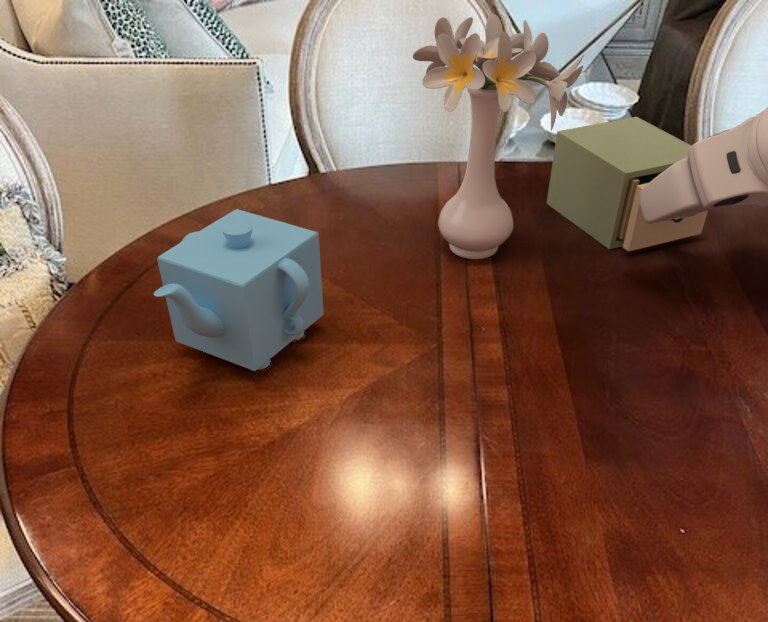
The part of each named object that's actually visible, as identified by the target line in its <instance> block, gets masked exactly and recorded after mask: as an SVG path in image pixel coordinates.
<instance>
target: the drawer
mask: <svg viewBox="0 0 768 622" xmlns="http://www.w3.org/2000/svg"><path fill="white" fill-rule="evenodd" d="M661 173H662V172H659V173H654V174H649V175H644V176H640V177H635V178H630V180H629V184H628V189H627V193H626V198H625V202H624V207H623V211H622V216H621V220H620V225H619V229H618V234H617V237H618V238H620V239H624V244H623V246H622V248H623V250H626V251H628V252H632V251H635V250H636V251H637V250H640V249H644V248H649V247H652V246H657V245H661V244H665V243H668V242H673V241H677V240H682V239H685V238H689V237H690V238H691V237H693V236H698V235H701V234H702V233H703V229H704V226H705V223H706V220H707V216H708V214H709V213H708V212H709V210H708V211H704V212H701V213H699V214H697V215H695V216H690V217H686V218H682V219H677V220H675V219H669V220H665V221H661V222H656V223H653V224H648V223H646V221H645V219H644V217H643V214H642V211H641V207H640V202H639V193H640V191H641V190H642V189H643V188H644V187H645V186H646V185H647V184H648V183H646V184H641V185H639V181H640V179H642V178H645V177H648V176H652V177H657V176H658V175H659V174H661Z"/></svg>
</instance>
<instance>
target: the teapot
mask: <svg viewBox="0 0 768 622" xmlns="http://www.w3.org/2000/svg"><path fill="white" fill-rule="evenodd" d="M319 235H320V234H319V232H318V231H315V230H311V229H307V228H305V227H301V226H297V225H294V224H290V223H288V222H285V221H280V220H277V219H273V218H269V217H266V216H263V215H259V214H256V213H251V212H248V211H246V210H242V209H238V208H236V209H234V210H233V211H230V212H229V213H227V214H225V215H224V216H222V217H221V218H219V219H217V220H216V221H214V222H212V223H210V224H209V225H207V226H206V227H204V228H202V229H201V230H199V231H193V232H189V233H188V234H186V235H185V236H184V237H183V239H182V240H181V241H180V242H179V243H178V244H176V245H175V246H173V247H171V248H170V249H168V250H166V251H165V252H163V253H162V254H160V255H158V257H157V258H156V260H157V264H158V270H159V275H160V278H161V282H162V286H160V287H159V288H158V289H156V290H155V291H154V292H153V296H154V297H156V298H157V297H158V298H165V301H166V305H167V310H168V314H169V319H170V323H171V328H172V332H173V336H174V340H175V342H176V343H179V344H182V345H185V346H187V347H190V348H193V349H194V350H198V351H201V352H202V351H203V352H202V353H205V352H206V353H205V354H209V355H210V356H214V357H216V358H218V359H221V360H224V361H226V362H230V363H233V364H234V365H237V366H239V367H243V368H246V369H248V370H250V369H251V370H250V371H253V372H257V371H256V370H257V369H260V368H261V369H263V368H265V367H267V366H268V365H269V364H270V362H271V363H272V361H271V359H272V358H273V357H275V355H277V354H278V353H279V352H280V351H282V350H283V349H285V347H287V346H288V345H289V344H290V343H291V342H293V341H292V340H294V339H300V338H301V337H303V335H304V332H305V331H306V330H307V329H308V328H310V326H312V325H313V324H314V323H315V322H317V321H318V320H319V319H321V317H322V316H324V314H325V312H324V298H323V283H322V282H323V281H322V265H321V251H320V250H321V249H320V236H319Z"/></svg>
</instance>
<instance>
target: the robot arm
mask: <svg viewBox="0 0 768 622" xmlns="http://www.w3.org/2000/svg"><path fill="white" fill-rule="evenodd" d="M688 154H689V156H687V157H685V158H683V159H681V160H679V161H678V162H676V163H675V164H673V165H671V166H670V167H669V168H667V169H666V170H665V171H663V172H662V173H661V174H659V175H658V176H657V177H656V178H654V179H653V180H652V181H651V182H650V183H648V184H647V185H646V186H645V187H644V188H643V189H642V190H641V191H640V193H639V202H640V207H641V211H642V214H643V217H644V219H645V221H646V223H648V224H653V223H656V222H661V221H665V220H669V219H675V220H677V219H682V218H686V217H690V216H695V215H697V214H699V213H701V212H704V211H708V212H709V211H713V210H717V209H720V208H724V207H729V206H733V205H739V206H740V205H741V206H749V205H750V206H752V205H753V206H757V207H768V107H766V108H765V109H763V110H762V111H760V112H759V113H758V114H756V115H755V116H750V117H749V118H747V119H746V120H744V121H743V122H741V123H740V124H738V125H736V126H734V127H731V128H729V129H726V130H723V131H721V132H718V133H715V134H713V135H710V136H707V137H706V138H701V139H700V140H698V141H696V142H695V143H694V144H691V147H690V148H689V149H688Z"/></svg>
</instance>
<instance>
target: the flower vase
mask: <svg viewBox="0 0 768 622" xmlns="http://www.w3.org/2000/svg"><path fill="white" fill-rule="evenodd" d="M473 23H474V18H473V17H472V16H469V17H466V18H465V19H464V20H463V21H462V22H461V23H460V24H459V25H458V26H457V28H456V30H455V33H454V32H453V31H454V30H453V27H452V25H451V22H450V21H449V19H448V18H446V17H443V16H442V17H440V18H439V19H438V20H437V21H436V23H435V26H434V39H435V42H436V44H435V45H433V44H431V45H429V44H428V45H424V46H421V47H420V48H418V49H417V50H415V51H414V52H413V54H412V59H413V60H415V61H417V62H431V63H430V64H428V67H427V68H426V70H425V75H424V76H423V77H422V86H423V87H424V88H426V89H428V90H438V89H442V88H446V89H445V92H444V97H443V107H444V109H445V111H446V112H447V113H452V112H454V110H456V108H457V106H458V105H459V102H460V101H461V98H462V94H463V91H464V89H465V88H466V92H467V93H468V96H469V103H470V118H471V119H470V120H471V121H470V122H471V123H470V136H469V145H468V155H467V163H466V167H465V173H464V177H463V180H462V182H461V184H460V186H459V188H458V190H457V191H456V193H455V194H454V195H453V196H452V197H451V198H449V199H448V200H447V201H446V203H445V204H444V205H443V206H442V208H441V210H440V212H439V215H438V220H437V221H438V222H437V227H438V228H437V229H438V230H439V232H440V234H441V236H442V238H443V239H444V240H445V241H446V242H447V243H448V247H449V249H450V251H451V252H452V253H453V254H455V255H456V256H458V257H461V258H463V259H467V260H483V259H488V258H490V257H492V256H494V255H496V253H497V252H498V250H499V246H501V245H503V244H504V243H505V242H506V241H507V240H509V237H510V236H511V234H512V233H513V230H514V215H513V212H512V210H511V208H510V207H509V205H508V203H507V202H506V201H505V200H504V198H503V197H502V196H501V194H500V191H499V189H498V185H497V182H496V181H497V180H496V173H495V164H496V163H495V161H496V160H495V159H496V146H497V144H496V143H497V133H498V125H499V119H500V115H501V111H502V112H504V113H506V112H508V111H509V110H510V109H511V107H512V103H513V96H514V97H516V98H517V99H519V100H520V101H521V102H523V103H525V104H526V105H534V104H535V102H536V101H537V97H536V93H535V91H534V89H533V87H532V86H531V85H530V84H529V83H528V82H527V81H531V82H534V83H535V82H536V83H539V84H541V85H543V86H544V87H546V88H547V91H548V98H549V104H550V105H549V107H550V131H551V132H552V131H553V129H554V126H555V123H556V119H557V112H558V115H559V117H562V116H564V113H565V112H566V109H567V105H568V93H567V91H566V89H569V88H570V87H572V86H573V85H574V84H575V83H576V82H577V80H578V79H579V77H580V75H581V74H582V72H583V70H584V65H580V64H581V63H582V60H583V58H584V56H585V54H582V55H581V56H580V57H579V58H578V59H577V60H576V61H575V62H574V63H572V64H571V65H570V66H569V67H568V68H567V69H566V70H564V71H563V72H562V73H560V72H559V70H558V69H557V67H555V66H554V65H553V64H551V63H550V62H548V61H543V60H544V59H545V58H546V56H547V54H548V52H549V45H550V44H549V38H548V36H547V34H546V33H545V32H543V31H542V32H540V33H539V34H538V35H537V36H536V37H535V39H534V41H533V34H532V30H531V27H530V25H529V23H528V21H527V19H524V20H523V23H522V24H523V26H522V27H523V32H519V33H515V34H512V35H510V36H509V34H508V33H507V32H506V31H504V29H503V24H502V22H501V19H500V17H499V16H498V15H497V14H495V13H492V14H490V15H489V16H488V18H487V20H486V23H485V32H484V33H485V42H484V41H483V40H482V39H481V36H480V35H479V34H478V32H477V33H476V32H474V33H472V34H470V35H469V36H468V37H467V35H468V33H469V32H470V29H471V27H472V25H473ZM578 66H579V67H578ZM527 74H529V75H527ZM548 79H549V80H548Z"/></svg>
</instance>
